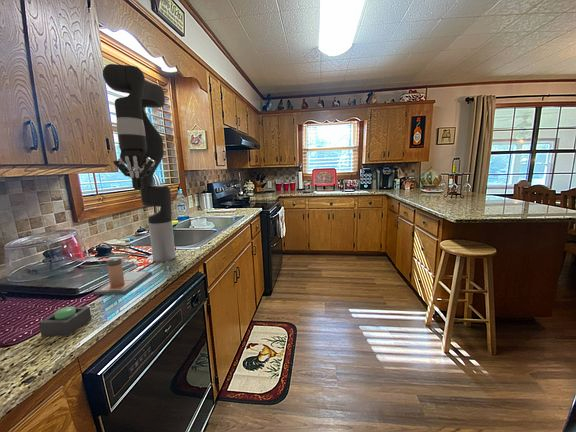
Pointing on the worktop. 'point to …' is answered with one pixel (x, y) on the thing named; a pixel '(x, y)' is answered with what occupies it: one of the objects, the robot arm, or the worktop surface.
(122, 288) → the picture board
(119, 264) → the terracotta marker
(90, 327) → the worktop surface
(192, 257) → the worktop surface
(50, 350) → the worktop surface
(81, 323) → the button housing
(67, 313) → the button
